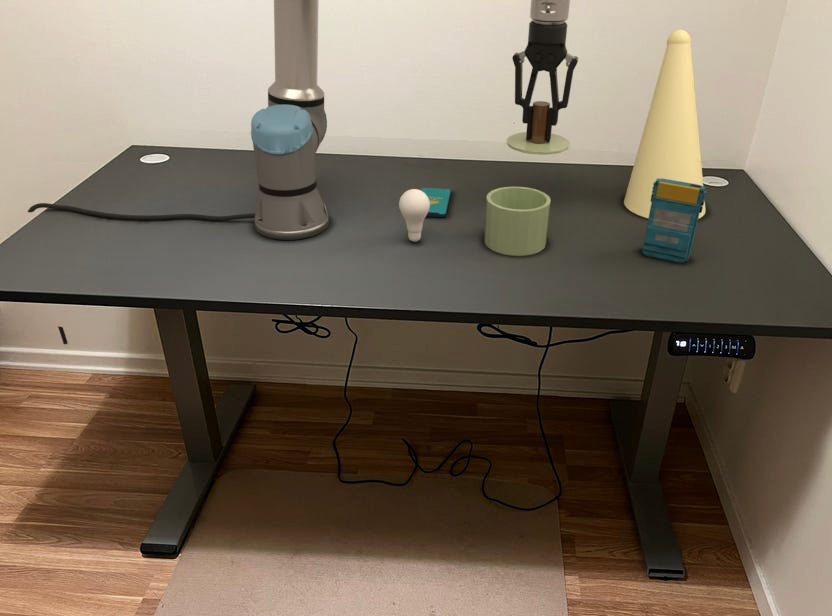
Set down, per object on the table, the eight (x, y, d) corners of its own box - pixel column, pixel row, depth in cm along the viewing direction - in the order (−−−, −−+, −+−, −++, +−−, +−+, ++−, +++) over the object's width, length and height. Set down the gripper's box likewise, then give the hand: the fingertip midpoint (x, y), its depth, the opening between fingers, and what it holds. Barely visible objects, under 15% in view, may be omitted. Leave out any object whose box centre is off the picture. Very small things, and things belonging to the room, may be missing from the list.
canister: (479, 251, 144) (481, 207, 139) (490, 226, 154) (492, 183, 149) (542, 259, 142) (546, 213, 137) (548, 232, 152) (553, 189, 147)
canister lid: (501, 154, 152) (504, 109, 147) (511, 134, 163) (513, 92, 158) (566, 160, 150) (571, 115, 145) (571, 139, 161) (576, 97, 156)
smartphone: (451, 188, 169) (445, 213, 157) (451, 191, 170) (445, 217, 157) (420, 187, 170) (412, 212, 157) (420, 190, 170) (412, 216, 158)
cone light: (715, 223, 158) (756, 53, 138) (631, 220, 158) (660, 50, 138) (688, 182, 178) (721, 29, 158) (614, 180, 179) (637, 26, 159)
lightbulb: (435, 239, 148) (435, 188, 142) (418, 250, 144) (418, 198, 138) (410, 232, 151) (410, 182, 145) (393, 243, 147) (392, 191, 141)
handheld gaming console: (691, 257, 144) (708, 185, 135) (687, 266, 141) (704, 193, 132) (642, 247, 147) (656, 176, 139) (638, 255, 144) (651, 183, 136)
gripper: (503, 21, 141) (497, 141, 154) (590, 26, 138) (575, 148, 151) (509, 15, 147) (502, 131, 160) (592, 20, 144) (578, 137, 157)
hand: (538, 139), depth 156 cm, fingers closed on canister lid, 4 cm apart
